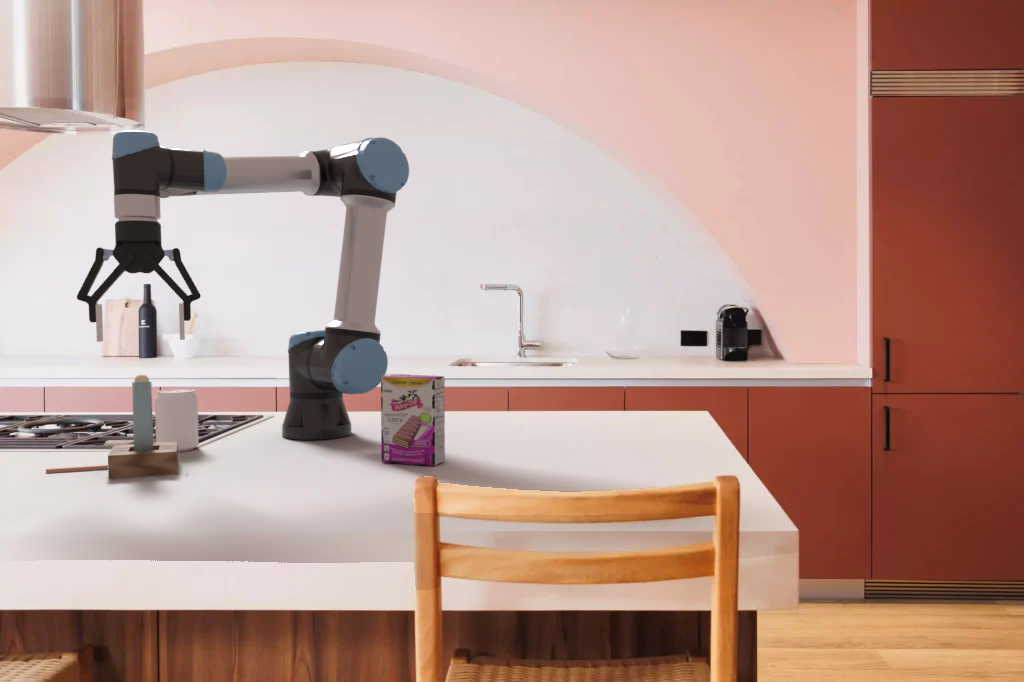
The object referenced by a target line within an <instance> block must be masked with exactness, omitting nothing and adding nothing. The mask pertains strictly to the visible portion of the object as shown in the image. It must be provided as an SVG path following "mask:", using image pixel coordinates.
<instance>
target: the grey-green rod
mask: <svg viewBox="0 0 1024 682" xmlns="http://www.w3.org/2000/svg"><path fill="white" fill-rule="evenodd" d="M152 386H153V385H152V380H151V381H150V379H149V376H147V375H146V374H143V373H141V374H138V375H137V376H135V378H134V381H132V382H131V387H132V388H131V393H132V424H133V425H132V426H133V444H134V451H148V450H153V443H154V428H153V427H154V425H153V423H154V422H153V421H154V420H153V395H152V394H153V393H152V391H153V389H152Z"/></svg>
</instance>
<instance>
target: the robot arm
mask: <svg viewBox="0 0 1024 682" xmlns="http://www.w3.org/2000/svg"><path fill="white" fill-rule="evenodd" d="M111 160H112V172H113V174H112V175H113V177H112V178H113V207H114V212H113V213H114V218H116V219H117V220H118V221H116V222H115V223H114V228H115V229H114V236H115V241H114V242H115V246H114V248H113V249H107V248H103V247H97V248H96V250H95V257H94V258H95V259H94V262H93V264H92V266H91V267H90V269H89V270H88V273H87V275H86V277H85V279H84V281H83V283H82V285H81V287H80V289H79V291H78V293H77V295H76V299H77V300H78V301H81V302H84V303H86V304H87V305H88V321H89V322H90V323H95V324H96V325H95V326H96V328H95V331H96V342H97V343H99V342H100V343H101V342H104V327H103V304H101V303H100V304H99V303H98V302H99V300H101V298H103V296H104V295H105V294H106V293H107V292H108V290H109V289H110V288H111V287H112V286H113V285H114V283H116V282H117V281H118V279H119V278H120V277H121V276H122V275H123V274H124V272H127V273H129V274H138V273H141V274H151V273H152V272H156V274H157V275H158V276H159V277H160V278H161V279H162V281H163V282H165V283H166V284H167V286H168V287H170V289H171V290H172V291H173V292H174V293H175V294H176V296H178V297H179V298H180V300H182V301H183V302H182V303H181V302H180V303H178V315H179V319H178V321H179V322H178V323H179V340H181V341H182V340H183V341H184V340H185V337H186V336H185V333H186V331H185V321H186V322H188V321H190V320H191V317H192V315H191V313H192V312H191V311H192V310H191V309H192V308H191V304H192V302H194V301H197V300H200V299H201V294H200V291H199V290H198V288H197V286H196V284H195V283H194V281H193V279H192V277H191V275H190V273H189V272H188V270H187V268H186V266H185V265H184V262H183V261H182V257H181V252H180V249H179V248H178V247H175V248H173V249H164V248H163V245H162V225H161V223H160V222H159V221H158V220H160V219H161V199H166V198H169V197H182V196H183V197H185V196H207V195H209V196H210V195H236V194H239V195H242V194H263V193H267V194H269V193H293V192H296V193H297V192H300V193H301V192H302V193H303V194H304V195H305V196H309V197H315V196H317V197H322V196H323V197H335V198H336V197H337V198H340V201H341V202H342V204H344V205H343V206H345V207H346V208H345V209H346V210H345V219H344V228H343V234H342V235H343V236H342V244H341V252H340V261H339V270H338V278H337V287H336V296H335V297H336V298H335V305H334V314H333V319H332V321H330V322H329V323H327V325H325V329H323V330H312V331H311V330H310V331H302V332H297V333H293V334H292V335H290V337H289V339H288V349H287V353H288V374H289V375H288V376H289V377H288V381H289V383H288V384H289V385H288V386H289V388H288V389H289V403H288V406H287V410H286V413H285V415H284V419H283V422H282V427H281V431H282V432H281V436H282V437H283V438H285V439H290V440H304V441H305V440H308V441H312V440H314V441H315V440H316V441H317V440H330V439H337V438H343V437H347V436H349V435H351V434H352V422H351V419H350V417H349V413H348V410H347V408H346V404H345V402H344V394H345V395H362V394H366V393H367V394H368V393H369V392H371V391H373V390H375V388H376V387H378V386H379V385H381V377H382V376H384V375H387V370H388V364H389V363H388V361H389V360H388V354H387V352H386V351H385V350H384V347H383V345H382V344H380V342H381V330H380V329H378V327H377V326H376V322H375V321H376V314H377V313H376V312H377V305H378V298H379V296H378V295H379V286H380V279H381V271H382V270H381V268H382V260H383V251H384V244H385V243H384V242H385V236H386V235H385V232H386V225H387V216H388V215H387V214H388V213H389V212H390V211H391V210H393V208H395V207H396V200H397V192H399V191H400V190H401V189H403V187H405V185H406V184H407V182H408V179H409V175H410V166H409V165H410V164H409V162H408V159H407V155H406V154H405V153H404V152H403V149H402V148H401V146H399V144H397V143H396V142H394V141H393V140H391V139H389V138H386V137H382V136H381V137H367V138H364V139H362V140H358V141H354V142H350V143H346V144H341V145H337V146H334V147H331V148H330V147H329V148H327V149H321V150H314V151H312V150H311V151H309V150H308V151H303V152H302V153H300V155H293V156H292V155H289V156H286V155H285V156H284V155H281V156H280V155H279V156H268V155H267V156H222V155H221V153H219V152H214V151H208V150H206V149H202V150H199V149H189V148H178V147H177V148H175V147H168V146H163V145H160V142H159V137H158V135H156V133H154V132H148V131H143V130H122V131H118V132H116V133H115V134H114V136H113V138H112V156H111ZM110 257H114V259H115V261H116V262H117V263H118V265H117V266H116V267H115V268H114V269H113V271H112V272H111V273H110V274H109V275H108V276H107V277H106V279H105V280H103V282H102V283H101V284H100V285H99V287H98V288H97V289H96V290H95V291H94V292H93V294H91V296H90V295H88V294H89V293H90V291H91V289H92V288H93V285H94V283H95V281H96V279H97V277H98V275H99V273H100V271H101V269H102V267H103V265H104V262H108V260H109V259H110ZM165 257H167V258H168V259H169V261H171V262H174V264H175V266H176V268H177V270H178V272H179V273H180V276H181V277H182V279H183V280H184V282H185V284H186V286H187V288H188V290H189V291H190V293H191V294H189V295H188V294H187V293H186V291H184V290H183V289H182V288H181V286H179V284H178V283H177V282H176V281H175V280H174V279H173V278H172V277H171V276H170V275H169V274H168V272H166V270H165V269H164V268H163V267H162V266H160V263H161V262H162V261H163V259H164V258H165Z"/></svg>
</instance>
